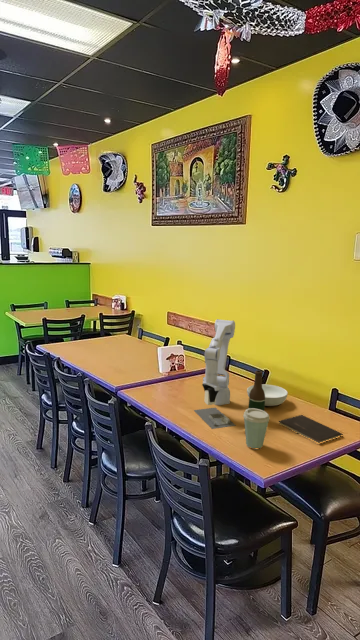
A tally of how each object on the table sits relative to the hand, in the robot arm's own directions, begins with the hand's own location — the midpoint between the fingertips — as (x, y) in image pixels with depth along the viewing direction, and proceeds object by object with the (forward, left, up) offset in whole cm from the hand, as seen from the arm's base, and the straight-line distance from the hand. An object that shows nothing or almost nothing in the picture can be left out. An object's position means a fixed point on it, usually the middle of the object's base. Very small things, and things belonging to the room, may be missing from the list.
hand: (210, 400), depth 200 cm
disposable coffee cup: (-5, +34, -8) cm, 35 cm away
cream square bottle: (0, 0, -2) cm, 2 cm away
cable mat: (0, +5, -8) cm, 9 cm away
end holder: (0, +10, -8) cm, 13 cm away
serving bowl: (-36, -7, -8) cm, 37 cm away
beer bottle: (-19, +11, -8) cm, 23 cm away
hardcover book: (-37, +28, -9) cm, 47 cm away
